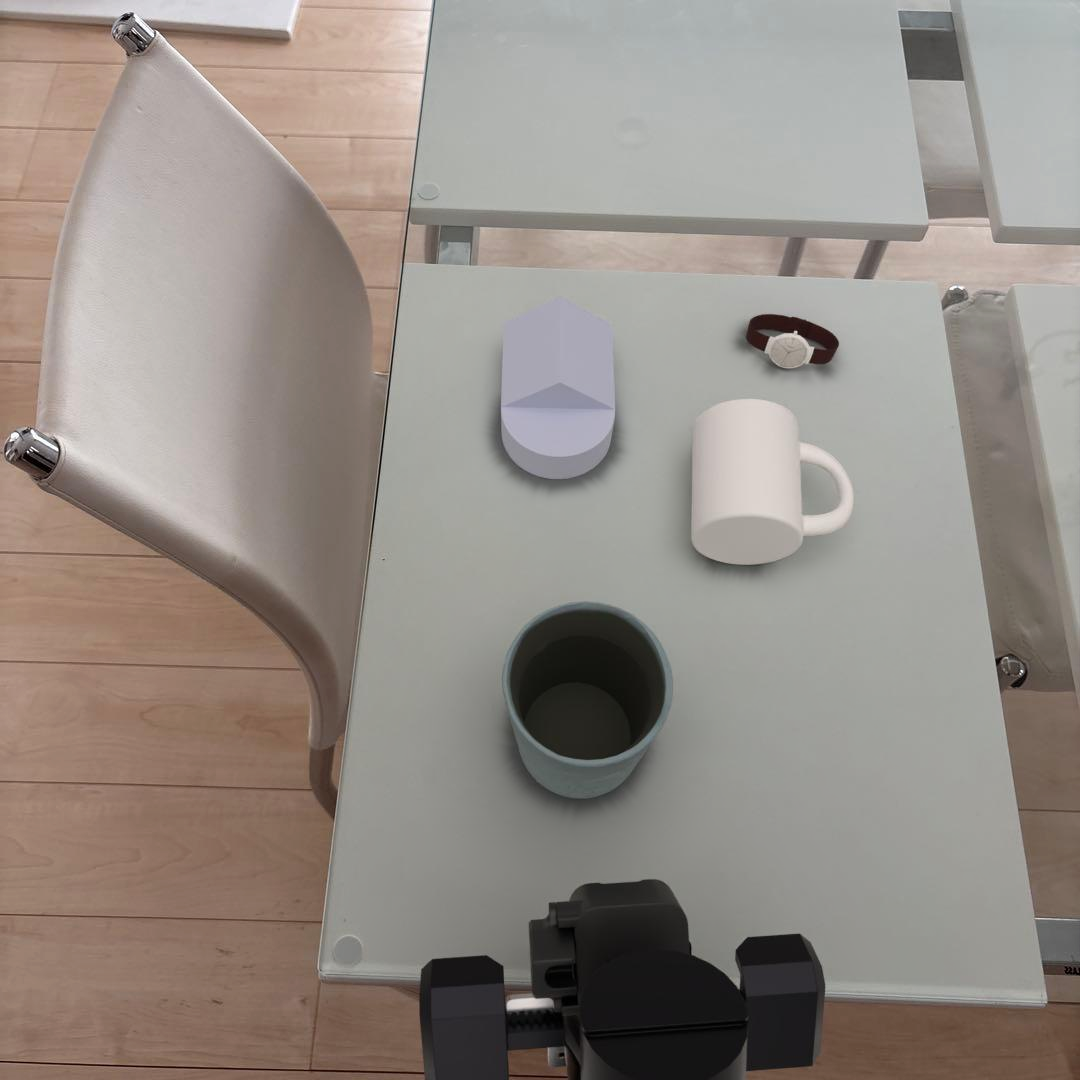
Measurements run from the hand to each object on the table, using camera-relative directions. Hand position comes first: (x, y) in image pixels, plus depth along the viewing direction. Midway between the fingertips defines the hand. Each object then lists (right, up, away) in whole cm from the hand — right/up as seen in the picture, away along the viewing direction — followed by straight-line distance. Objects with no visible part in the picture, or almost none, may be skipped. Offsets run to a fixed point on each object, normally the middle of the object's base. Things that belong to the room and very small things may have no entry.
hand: (599, 897), depth 53 cm
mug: (+14, +22, +22) cm, 34 cm away
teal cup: (-1, +6, +14) cm, 15 cm away
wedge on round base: (-2, +30, +26) cm, 40 cm away
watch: (+18, +36, +30) cm, 50 cm away
